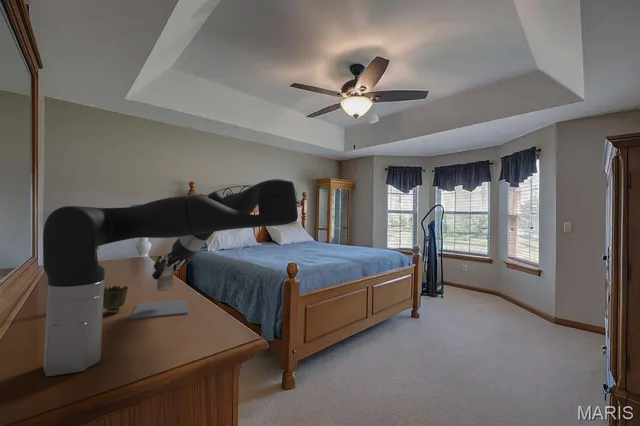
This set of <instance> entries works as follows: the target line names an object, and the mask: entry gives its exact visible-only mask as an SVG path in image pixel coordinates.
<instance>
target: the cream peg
mask: <svg viewBox="0 0 640 426" xmlns="http://www.w3.org/2000/svg"><path fill="white" fill-rule="evenodd" d="M167 263H168V262H167ZM168 265H170V264H169V263H168ZM163 268H165V266H164V267H163ZM173 268H174V266H172V267H171V268H170V269H167V270H165V271H164V272H163V273H162V275H161V276H160V277H159V278H158V279H156V280H157V281H156V291H158V292H167V291H172V290H174V273H173Z"/></svg>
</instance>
